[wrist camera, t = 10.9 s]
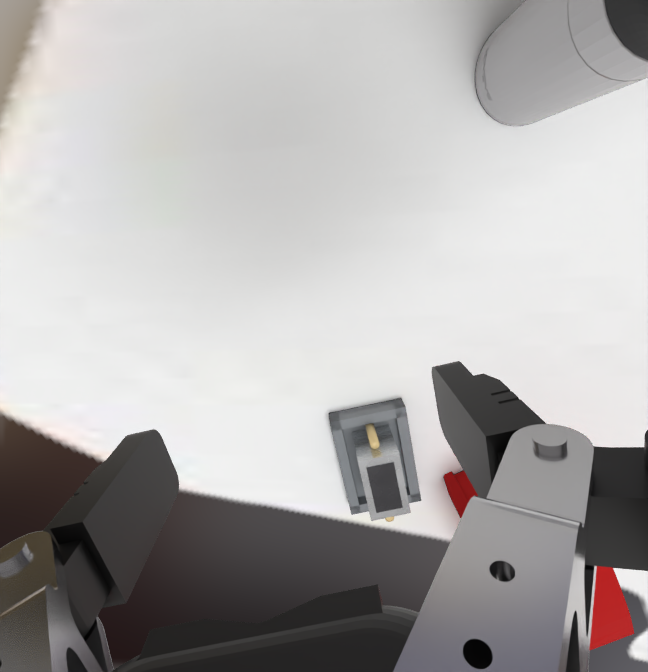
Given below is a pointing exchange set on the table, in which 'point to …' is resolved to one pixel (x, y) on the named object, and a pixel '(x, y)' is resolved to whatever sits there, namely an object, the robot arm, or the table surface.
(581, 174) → the table surface
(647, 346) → the table surface
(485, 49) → the robot arm
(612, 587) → the fire alarm
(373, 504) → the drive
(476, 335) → the table surface
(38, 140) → the table surface
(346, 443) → the tray
